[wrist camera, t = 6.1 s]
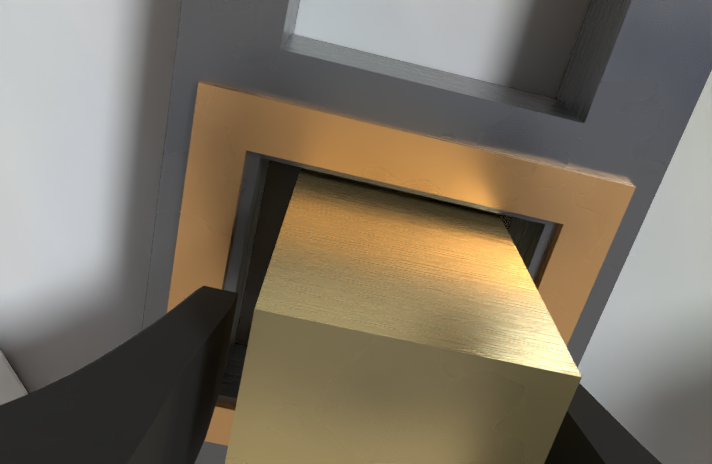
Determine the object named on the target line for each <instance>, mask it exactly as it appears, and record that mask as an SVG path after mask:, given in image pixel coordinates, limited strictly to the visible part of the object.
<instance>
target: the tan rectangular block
mask: <svg viewBox="0 0 712 464" xmlns="http://www.w3.org/2000/svg"><path fill="white" fill-rule="evenodd" d="M580 380H581V375H580V373H579V371H578V369H577V367H576V365H575V363H574V361H573V359H572V357H571V355H570V353H569V351H568V349H567V347H566V345H565V343H564V341H563V339H562V337H561V335H560V334H559V332H558V330H557V328H556V326H555V324H554V322H553V320H552V318H551V316H550V314H549V312H548V310H547V308H546V306H545V304H544V302H543V300H542V298H541V296H540V294H539V292H538V290H537V288H536V286H535V284H534V282H533V280H532V278H531V276H530V274H529V272H528V270H527V268H526V266H525V264H524V262H523V260H522V258H521V256H520V254H519V252H518V250H517V248H516V247H515V245H514V243H513V241H512V239H511V237H510V235H509V233H508V231H507V229H506V227H505V225H504V223H503V221H502V219H501V217H500V215H499V213H495V212H491V211H486V210H482V209H478V208H473V207H469V206H465V205H460V204H456V203H452V202H448V201H443V200H439V199H435V198H430V197H426V196H422V195H417V194H413V193H409V192H405V191H400V190H396V189H392V188H387V187H383V186H379V185H374V184H370V183H366V182H362V181H357V180H353V179H349V178H344V177H340V176H336V175H331V174H327V173H323V172H319V171H314V170H310V169H306V168H301V170H300V173H299V176H298V179H297V182H296V185H295V188H294V191H293V194H292V197H291V200H290V203H289V206H288V209H287V212H286V215H285V218H284V221H283V224H282V227H281V230H280V233H279V236H278V239H277V242H276V245H275V248H274V251H273V255H272V258H271V261H270V264H269V267H268V270H267V273H266V276H265V279H264V282H263V285H262V288H261V291H260V294H259V297H258V300H257V303H256V306H255V309H254V314H253V320H252V325H251V330H250V335H249V340H248V346H247V351H246V356H245V361H244V366H243V371H242V377H241V382H240V387H239V392H238V397H237V403H236V408H235V413H234V418H233V423H232V429H231V434H230V439H229V444H228V449H227V455H226V460H225V464H544V463H545V460H546V458H547V456H548V453H549V451H550V449H551V447H552V444H553V442H554V440H555V437H556V435H557V433H558V430H559V428H560V426H561V423H562V421H563V419H564V417H565V414H566V412H567V410H568V407H569V405H570V403H571V400H572V398H573V396H574V394H575V391H576V389H577V387H578V384H579V382H580Z"/></svg>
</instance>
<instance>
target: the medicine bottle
mask: <svg viewBox="0 0 712 464" xmlns="http://www.w3.org/2000/svg"><path fill="white" fill-rule="evenodd" d="M25 395H28V392H27V391H26V389H25V388H24V386H23V385H22V383H21V381H20V380H19V378H18V377H17V375H16V374H15V372H14V371H13V369H12V367H11V366H10V364H9V363H8V361H7V360H6V358H5V356H4V355H3V353H2V352H1V350H0V405H2V404H5V403H7V402H10V401H12V400H15V399H17V398H20V397H22V396H25Z"/></svg>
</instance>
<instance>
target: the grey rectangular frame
mask: <svg viewBox="0 0 712 464" xmlns="http://www.w3.org/2000/svg"><path fill="white" fill-rule="evenodd" d="M299 2H300V0H182V3H181V11H180V19H179V28H178V36H177V44H176V53H175V61H174V69H173V77H172V86H171V94H170V102H169V110H168V119H167V127H166V135H165V143H164V152H163V160H162V168H161V176H160V185H159V193H158V201H157V210H156V218H155V226H154V234H153V243H152V251H151V259H150V267H149V276H148V284H147V292H146V300H145V309H144V317H143V325H142V331H143V330H144V329H145V328H147V327H148V326H150V325H151V324H153V323H154V322H155V321H157V320H158V319H160V318H161V317H162V316H164V315H165V314H166V313H168V312H169V311H170V310H172V309H173V308H174V307H176V306H177V305H178V304H179V303H181V302H182V301H183V300H184V299H186V298H187V297H188V296H189V295H191V294H192V293H193V292H194V291H196V290H197V289H199V288H200V287H202V286H208V287H213V288H217V289H222V290H226V291H231V292H236V293H238V299H237V304H236V310H235V315H234V320H233V326H232V331H231V336H230V342H229V347H228V352H227V358H226V363H225V369H224V374H223V379H222V385H221V389H220V393H219V396H218V399H217V402H216V406H215V409H214V412H213V416H212V419H211V422H210V425H209V429H208V432H207V435H206V438H205V440H204V443H203V445H202V447H201V450H200V452H199V454H198V457H197V459H196V461H195V464H225V460H226V455H227V449H228V444H229V439H230V434H231V429H232V423H233V418H234V413H235V408H236V403H237V397H238V392H239V387H240V382H241V377H242V371H243V366H244V361H245V356H246V351H247V346H245V345H240V344H235V339H236V333H237V328H238V323H239V318H240V312H241V307H242V302H243V296H244V291H245V286H246V281H247V275H248V270H249V265H250V260H251V254H252V249H253V244H254V239H255V233H256V228H257V223H258V218H259V212H260V207H261V202H262V197H263V191H264V186H265V181H266V176H267V170H268V165H269V160H271V161H276V162H280V163H284V164H288V165H293V166H297V167H301V168H306V169H310V170H314V171H319V172H323V173H327V174H331V175H336V176H340V177H344V178H349V179H353V180H357V181H362V182H366V183H370V184H374V185H379V186H383V187H387V188H392V189H396V190H400V191H405V192H409V193H413V194H417V195H422V196H426V197H430V198H435V199H439V200H443V201H448V202H452V203H456V204H460V205H465V206H469V207H473V208H478V209H482V210H486V211H491V212H495V213H499V214H503V215H508V216H512V217H513V219H512V222H511V225H510V228H509V230H508V233H509V235H510V237H511V239H512V241H513V243H514V245H515V247H516V248H517V250H518V252H519V254H520V256H521V258H522V260H523V262H524V264H525V266H526V268H527V270H528V272H529V274H530V276H531V278H532V280H533V282H534V284H535V286H536V288H537V290H538V292H539V294H540V296H541V298H542V300H543V302H544V304H545V306H546V308H547V310H548V312H549V314H550V316H551V318H552V320H553V322H554V324H555V326H556V328H557V330H558V332H559V334H560V335H561V337H562V339H563V341H564V343H565V345H566V347H567V349H568V351H569V353H570V355H571V357H572V359H573V361H574V363H575V365H576V367H578V365H579V363H580V361H581V359H582V356H583V354H584V352H585V350H586V347H587V345H588V343H589V341H590V339H591V336H592V334H593V332H594V330H595V327H596V325H597V323H598V321H599V319H600V316H601V314H602V312H603V310H604V308H605V305H606V303H607V301H608V299H609V296H610V294H611V292H612V290H613V288H614V285H615V283H616V281H617V279H618V276H619V274H620V272H621V270H622V268H623V265H624V263H625V261H626V259H627V256H628V254H629V252H630V250H631V248H632V245H633V243H634V241H635V239H636V236H637V234H638V232H639V230H640V228H641V225H642V223H643V221H644V219H645V217H646V214H647V212H648V210H649V208H650V205H651V203H652V201H653V199H654V197H655V194H656V192H657V190H658V188H659V185H660V183H661V181H662V179H663V177H664V174H665V172H666V170H667V168H668V165H669V163H670V161H671V159H672V157H673V154H674V152H675V150H676V148H677V145H678V143H679V141H680V139H681V137H682V134H683V132H684V130H685V128H686V125H687V123H688V121H689V119H690V117H691V114H692V112H693V110H694V108H695V106H696V103H697V101H698V99H699V97H700V94H701V92H702V90H703V88H704V86H705V83H706V81H707V79H708V77H709V74H710V72H711V70H712V0H592V1H591V4H590V6H589V9H588V12H587V15H586V17H585V20H584V23H583V26H582V29H581V31H580V34H579V37H578V40H577V42H576V45H575V48H574V51H573V53H572V56H571V59H570V62H569V64H568V67H567V70H566V73H565V76H564V78H563V81H562V84H561V87H560V89H559V92H558V95H557V98H556V99H553V98H549V97H545V96H541V95H537V94H533V93H529V92H525V91H521V90H517V89H513V88H509V87H505V86H501V85H497V84H493V83H489V82H485V81H480V80H476V79H472V78H468V77H464V76H460V75H456V74H452V73H448V72H444V71H440V70H436V69H432V68H428V67H424V66H420V65H416V64H412V63H407V62H403V61H399V60H395V59H391V58H387V57H383V56H379V55H375V54H371V53H367V52H363V51H359V50H355V49H351V48H347V47H343V46H339V45H334V44H330V43H326V42H322V41H318V40H314V39H310V38H306V37H302V36H298V35H294V28H295V23H296V18H297V13H298V7H299Z"/></svg>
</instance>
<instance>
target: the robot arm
mask: <svg viewBox="0 0 712 464" xmlns="http://www.w3.org/2000/svg"><path fill="white" fill-rule="evenodd" d="M237 299H238V293H236V292H231V291H226V290H222V289H217V288H213V287H208V286H202V287H200V288H199V289H197V290H196V291H194V292H193V293H192V294H191V295H189V296H188V297H187V298H186V299H184V300H183V301H182V302H181V303H179V304H178V305H177V306H176V307H174V308H173V309H172V310H170V311H169V312H168V313H166V314H165V315H164V316H162V317H161V318H160V319H158V320H157V321H155V322H154V323H153V324H151V325H150V326H148V327H147V328H145V329H144V330H143V331H141V332H140V333H138V334H137V335H135V336H134V337H133V338H131V339H130V340H128V341H127V342H125V343H123V344H122V345H120V346H118V347H117V348H115V349H114V350H112V351H110V352H109V353H107V354H105V355H104V356H102V357H101V358H99V359H97V360H96V361H94V362H92V363H91V364H89V365H87V366H85V367H83V368H82V369H80V370H78V371H76V372H74V373H72V374H70V375H69V376H67V377H65V378H63V379H60V380H58V381H56V382H54V383H52V384H50V385H48V386H46V387H44V388H42V389H39V390H37V391H35V392H33V393H30V394H28V395H25V396H22V397H20V398H17V399H15V400H12V401H10V402H7V403H5V404H2V405H0V464H195V461H196V459H197V457H198V454H199V452H200V450H201V447H202V445H203V443H204V440H205V438H206V435H207V432H208V429H209V425H210V422H211V419H212V416H213V412H214V409H215V406H216V402H217V399H218V396H219V393H220V389H221V385H222V379H223V374H224V369H225V363H226V358H227V352H228V347H229V342H230V336H231V331H232V326H233V320H234V315H235V310H236V304H237ZM544 464H661V463H660V462H659V461H658V460H657V459H656V458H655V457H654V456H653V455H652V454H651V453H650V452H649V451H647V450H646V449H645V448H644V447H643V446H642V445H641V444H640V443H639V442H638V441H637V440H636V439H635V438H634V437H633V436H632V435H631V434H630V433H629V432H628V431H627V430H626V429H625V428H624V427H623V426H622V425H621V424H620V423H619V422H618V421H617V420H616V419H615V418H614V417H613V416H612V415H611V414H610V413H609V412H608V411H607V410H606V409H605V408H604V407H603V406H602V405H601V404H600V403H599V402H598V401H597V400H596V399H595V398H594V397H593V396H592V395H591V394H590V393H589V392H588V391H587V390H586V389H585V388H584V387H583V386H582V385H581V384H580V383H579V384H578V387H577V389H576V391H575V394H574V396H573V398H572V400H571V403H570V405H569V407H568V410H567V412H566V414H565V417H564V419H563V421H562V423H561V426H560V428H559V430H558V433H557V435H556V437H555V440H554V442H553V444H552V447H551V449H550V451H549V453H548V456H547V458H546V460H545V463H544Z"/></svg>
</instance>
